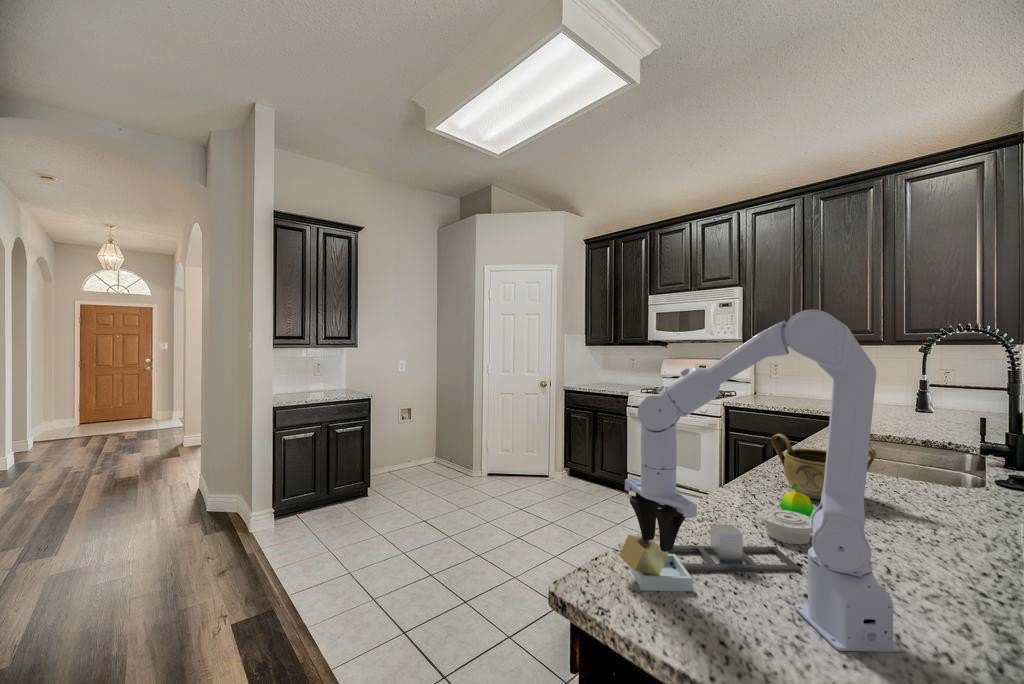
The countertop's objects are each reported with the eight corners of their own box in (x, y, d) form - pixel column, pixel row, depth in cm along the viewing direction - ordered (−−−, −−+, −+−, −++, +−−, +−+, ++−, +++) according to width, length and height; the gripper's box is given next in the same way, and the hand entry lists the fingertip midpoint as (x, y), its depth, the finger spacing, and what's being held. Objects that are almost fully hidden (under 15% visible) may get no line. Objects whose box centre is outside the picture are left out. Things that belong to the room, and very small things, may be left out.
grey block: (742, 567, 79) (742, 533, 79) (719, 567, 79) (719, 533, 79) (732, 556, 83) (732, 524, 83) (710, 556, 83) (710, 524, 83)
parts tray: (692, 591, 71) (692, 578, 71) (640, 590, 71) (640, 577, 71) (674, 565, 79) (674, 554, 79) (628, 565, 80) (628, 553, 80)
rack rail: (800, 573, 77) (800, 568, 77) (672, 571, 77) (672, 565, 77) (774, 552, 85) (774, 546, 85) (658, 550, 85) (658, 545, 85)
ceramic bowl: (761, 494, 117) (761, 437, 118) (783, 480, 129) (783, 429, 129) (868, 519, 101) (868, 453, 101) (882, 501, 112) (882, 442, 112)
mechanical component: (754, 517, 90) (766, 504, 98) (754, 538, 90) (766, 524, 98) (812, 531, 84) (821, 516, 91) (812, 554, 84) (821, 537, 91)
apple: (790, 513, 104) (790, 475, 104) (819, 523, 98) (819, 482, 98) (772, 519, 100) (772, 480, 100) (802, 530, 95) (802, 487, 95)
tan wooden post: (668, 553, 75) (644, 548, 72) (659, 575, 75) (634, 571, 72) (652, 539, 78) (628, 534, 76) (643, 560, 78) (619, 555, 76)
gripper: (710, 473, 71) (709, 558, 71) (645, 452, 84) (644, 524, 84) (678, 479, 68) (677, 568, 68) (616, 456, 81) (615, 531, 81)
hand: (657, 544), depth 76 cm, fingers open, 4 cm apart
